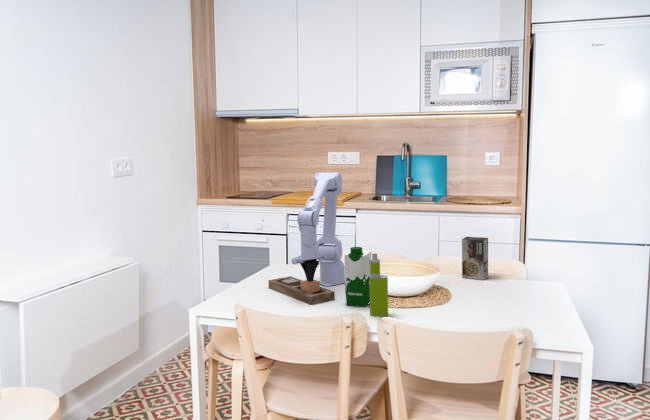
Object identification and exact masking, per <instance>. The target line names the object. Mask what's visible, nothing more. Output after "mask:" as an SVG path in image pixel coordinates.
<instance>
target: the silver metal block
mask: <svg viewBox="0 0 650 420" xmlns="http://www.w3.org/2000/svg"><path fill="white" fill-rule="evenodd" d="M281 283H284V284H286V285H289V286H297V285H299V281H298V280H295V279H287V280H282V281H281Z"/></svg>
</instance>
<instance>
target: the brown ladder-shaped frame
mask: <svg viewBox="0 0 650 420" xmlns="http://www.w3.org/2000/svg"><path fill="white" fill-rule="evenodd" d="M287 279H295V280H298V281H299V285H297V286H289V285H286V284H284V283H281V281H282V280H287ZM301 281H304V280H302V279H299V278H296V277H293V276H285V277H284V276H283V277H278V278H273V279H268V289H271V290H273V291H276V292H277V293H280V294H283V295H286V296H287V297H291V298H293V299H296V300H298V301H301V302H303V303H305V304H308V305H311V306H313V305H318V304H322V303H327V302H331V301H335V294H336V293H335V290H334V291H333V290H331V289H328V288H326V287H322V286H320V291H316V292H312V293H308V292H305V291H302V290H301Z"/></svg>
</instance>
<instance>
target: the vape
mask: <svg viewBox="0 0 650 420" xmlns="http://www.w3.org/2000/svg"><path fill="white" fill-rule="evenodd" d="M380 268H381V259H379V258H378V253H371V259H370V276H369V285H370V303H369V316H371V317H388V316H389V290H388V289H389V286H388V285H389V283H388V281H389V280H388V278H389V277H388V275H386V274H381V269H380Z"/></svg>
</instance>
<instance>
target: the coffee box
mask: <svg viewBox="0 0 650 420" xmlns="http://www.w3.org/2000/svg"><path fill="white" fill-rule="evenodd" d="M461 272H462V273H461V275H462V276H461V279H468V280H469V279H471V280H480V281H481V280H482V281H485V280H486V279H487V278H489V237H479V236H465V237H463V238H462V239H461Z"/></svg>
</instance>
